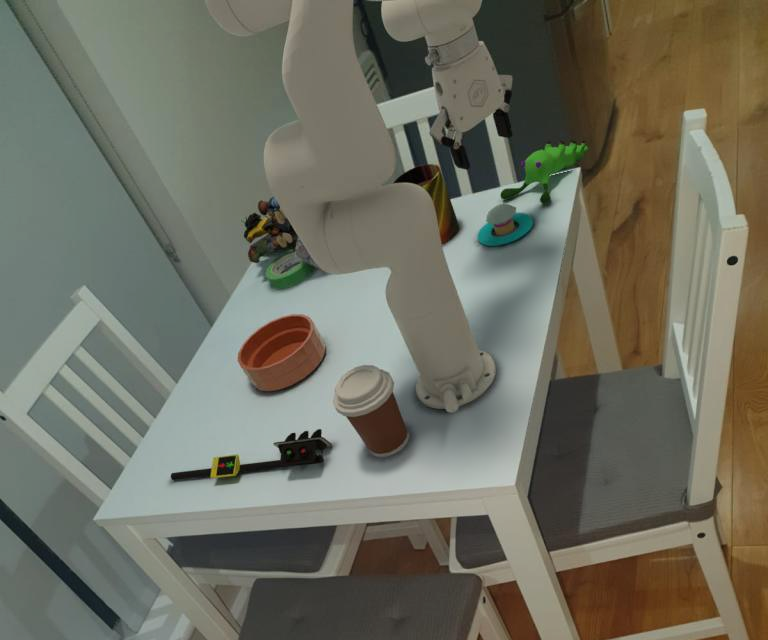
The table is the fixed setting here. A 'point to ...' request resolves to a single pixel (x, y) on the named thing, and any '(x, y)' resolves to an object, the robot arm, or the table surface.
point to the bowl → (281, 352)
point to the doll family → (267, 229)
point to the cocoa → (372, 409)
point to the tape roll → (291, 276)
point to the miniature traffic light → (291, 455)
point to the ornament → (504, 225)
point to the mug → (435, 197)
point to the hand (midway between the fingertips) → (484, 152)
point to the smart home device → (289, 245)
